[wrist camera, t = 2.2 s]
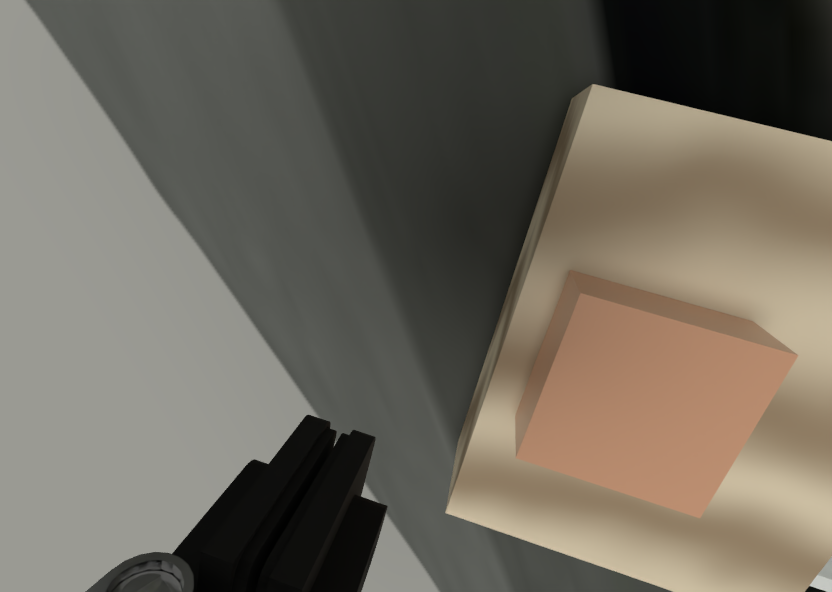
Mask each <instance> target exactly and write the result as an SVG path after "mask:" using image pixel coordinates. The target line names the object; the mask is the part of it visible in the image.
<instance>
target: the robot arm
mask: <svg viewBox="0 0 832 592" xmlns="http://www.w3.org/2000/svg"><path fill="white" fill-rule="evenodd" d="M335 438H336V431H335V430H332V429H330V422H329V421H326V420H323V419H320V418H317V417H314V416H311V415H307V416H306V417H305V418H304V419H303V420H302V422H301V423H300V424H299V425H298V427H297V428H296V430H295V431H294V432H293V433H292V435H291V436H290V437H289V439H288V440H287V441H286V442H285V444H284V445H283V446H282V448H281V449H280V450H279V451H278V453H277V454H276V455H275V457H274V458H273V459H272V461H271V462H270V463H269V464H266V463H263V462H260V461H257V460H252V461H251V462H249V463H248V465H246V466H245V468H244V469H243V470H242V471H241V473H240V474H239V475H238V476H237V477H236V478H235V480H234V481H233V482H232V483H231V484H230V486H229V487H228V488H227V489H226V490H225V491H224V493H223V494H222V495H221V496H220V497H219V499H218V500H217V501H216V502H215V503H214V505H213V506H212V507H211V508H210V509H209V511H208V512H207V513H206V514H205V515H204V516H203V518H202V519H201V520H200V521H199V522H198V524H197V525H196V526H195V527H194V528H193V530H192V531H191V532H190V533H189V535H188V536H187V537H186V538H185V539H184V540H183V542H182V543H181V544H180V545H179V546H178V547H177V549H176V550H175V551H174V552H173V553H172V554H170V553H161V552H153V553H147V554H141V555H138V556H136V557H133V558H131V559H128V560H126V561H124V562H122V563H121V564H119V565H118V566H117V567H115V568H114V569H112V570H111V571H110V572H108V573H107V574H106V575H105V576H104V577H103V578H101V579H100V580H99V581H98V582H97V583H95V584H94V585H93V586H92V587H91V588H89V589H88V590H87V591H86V592H361V590H362V588H363V584H364V582H365V579H366V576H367V573H368V570H369V567H370V564H371V561H372V558H373V554H374V551H375V548H376V545H377V542H378V538H379V535H380V531H381V528H382V524H383V521H384V517H385V514H386V510H387V506H386V505H383V504H380V503H377V502H374V501H372V500H369V499H366V498H363V497H361V494H362V490H363V486H364V482H365V478H366V474H367V471H368V467H369V463H370V459H371V455H372V451H373V447H374V443H375V437H374V436H371V435H368V434H365V433H362V432H359V431H356V430H353V431H352V432H351V434H350V435H347V434H344V433H342V434H341V436H340V437H339V439H338V441H337V442H336V444H335V446H334V443H335Z"/></svg>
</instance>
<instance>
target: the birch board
mask: <svg viewBox="0 0 832 592" xmlns="http://www.w3.org/2000/svg"><path fill="white" fill-rule="evenodd" d="M570 270H573V271H577V272H580V273H584V274H587V275H591V276H594V277H598V278H601V279H605V280H608V281H612V282H616V283H619V284H623V285H626V286H630V287H633V288H637V289H640V290H644V291H647V292H651V293H655V294H658V295H662V296H665V297H669V298H672V299H676V300H679V301H683V302H686V303H690V304H694V305H697V306H701V307H704V308H708V309H711V310H715V311H718V312H722V313H725V314H729V315H733V316H736V317H740V318H743V319H747V320H750V321H753V322H755V323H756V324H757V325H759V326H760V327H761V328H763V329H764V330H765V331H767V332H768V333H769V334H771V335H772V336H773V337H775V338H776V339H777V340H779V341H780V342H781V343H783V344H784V345H785V346H787V347H788V348H789V349H791V350H792V351H793V352H795V353H796V354H797V355H798V357H797V359H796V360H795V362H794V364H793V365H792V367H791V369H790V370H789V372H788V374H787V375H786V377H785V379H784V380H783V382H782V384H781V385H780V387H779V389H778V390H777V392H776V394H775V395H774V397H773V399H772V400H771V402H770V404H769V405H768V407H767V408H766V410H765V412H764V413H763V415H762V417H761V418H760V420H759V422H758V423H757V425H756V427H755V428H754V430H753V432H752V433H751V435H750V437H749V438H748V440H747V442H746V443H745V445H744V447H743V448H742V450H741V452H740V453H739V455H738V456H737V458H736V460H735V461H734V463H733V465H732V466H731V468H730V470H729V471H728V473H727V475H726V476H725V478H724V480H723V481H722V483H721V485H720V486H719V488H718V490H717V491H716V493H715V495H714V496H713V498H712V500H711V501H710V503H709V504H708V506H707V508H706V509H705V511H704V513H703V514H702V516H701V518H697V517H694V516H691V515H688V514H685V513H682V512H679V511H676V510H673V509H670V508H667V507H664V506H660V505H657V504H654V503H651V502H648V501H645V500H642V499H639V498H636V497H633V496H630V495H627V494H624V493H621V492H618V491H615V490H612V489H608V488H605V487H602V486H599V485H596V484H593V483H590V482H587V481H584V480H581V479H578V478H575V477H572V476H569V475H566V474H563V473H560V472H557V471H553V470H550V469H547V468H544V467H541V466H538V465H535V464H532V463H529V462H526V461H523V460H520V459H517V458H516V443H515V414H516V412H517V409H518V406H519V404H520V401H521V399H522V396H523V393H524V391H525V388H526V385H527V383H528V380H529V377H530V375H531V372H532V369H533V367H534V364H535V361H536V359H537V356H538V353H539V351H540V348H541V345H542V343H543V340H544V337H545V335H546V332H547V329H548V327H549V324H550V321H551V319H552V316H553V314H554V311H555V308H556V306H557V303H558V300H559V298H560V295H561V292H562V290H563V287H564V284H565V282H566V279H567V276H568V274H569V271H570ZM446 513H447V514H450V515H453V516H456V517H459V518H462V519H465V520H468V521H471V522H474V523H476V524H479V525H482V526H485V527H488V528H491V529H494V530H497V531H500V532H503V533H505V534H508V535H511V536H514V537H517V538H520V539H523V540H526V541H529V542H532V543H534V544H537V545H540V546H543V547H546V548H549V549H552V550H555V551H558V552H561V553H563V554H566V555H569V556H572V557H575V558H578V559H581V560H584V561H587V562H590V563H593V564H595V565H598V566H601V567H604V568H607V569H610V570H613V571H616V572H619V573H622V574H624V575H627V576H630V577H633V578H636V579H639V580H642V581H645V582H648V583H651V584H653V585H656V586H659V587H662V588H665V589H668V590H671V591H674V592H805V591H806V589H807V588H808V587H809V585H810V584H811V583H812V581H813V580H814V579H815V578H816V576H817V575H818V574H819V572H820V571H821V570H822V568H823V567H824V566H825V565H826V563H827V562H828V561H829V559H830V558H831V557H832V141H828V140H824V139H820V138H816V137H811V136H807V135H803V134H799V133H795V132H791V131H786V130H782V129H778V128H774V127H770V126H766V125H761V124H757V123H753V122H749V121H745V120H741V119H736V118H732V117H728V116H724V115H720V114H716V113H712V112H707V111H703V110H699V109H695V108H691V107H687V106H682V105H678V104H674V103H670V102H666V101H662V100H657V99H653V98H649V97H645V96H641V95H637V94H632V93H628V92H624V91H620V90H616V89H612V88H607V87H603V86H599V85H595V84H592V85H591V86H589V87H588V88H586V89H585V90H583V91H582V92H580V93H579V94H578V95H576V96H575V97H573V98H572V100H571V103H570V106H569V109H568V112H567V115H566V118H565V121H564V124H563V127H562V130H561V133H560V136H559V139H558V142H557V145H556V148H555V151H554V154H553V157H552V160H551V163H550V166H549V169H548V172H547V175H546V178H545V181H544V184H543V187H542V190H541V193H540V196H539V199H538V202H537V205H536V208H535V211H534V214H533V217H532V220H531V223H530V226H529V229H528V232H527V235H526V238H525V241H524V244H523V247H522V250H521V253H520V256H519V259H518V262H517V265H516V268H515V271H514V274H513V277H512V280H511V283H510V286H509V289H508V292H507V295H506V298H505V301H504V304H503V307H502V311H501V314H500V317H499V320H498V323H497V326H496V329H495V332H494V335H493V338H492V341H491V344H490V347H489V350H488V353H487V356H486V359H485V362H484V365H483V368H482V371H481V374H480V377H479V380H478V383H477V386H476V389H475V392H474V395H473V398H472V401H471V404H470V407H469V410H468V413H467V416H466V419H465V422H464V425H463V428H462V431H461V434H460V437H459V440H458V445H457V451H456V457H455V462H454V468H453V474H452V479H451V485H450V490H449V496H448V502H447V507H446Z"/></svg>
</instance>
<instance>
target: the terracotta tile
mask: <svg viewBox="0 0 832 592" xmlns="http://www.w3.org/2000/svg"><path fill="white" fill-rule="evenodd" d="M797 357H798V355H797V354H796V353H795V352H793V351H792V350H791V349H789V348H788V347H787V346H785V345H784V344H783V343H781V342H780V341H779V340H777V339H776V338H775V337H773V336H772V335H771V334H769V333H768V332H767V331H765V330H764V329H763V328H761V327H760V326H759V325H757V324H756V323H755V322H753V321H750V320H747V319H743V318H740V317H736V316H733V315H729V314H725V313H722V312H718V311H715V310H711V309H708V308H704V307H701V306H697V305H694V304H690V303H686V302H683V301H679V300H676V299H672V298H669V297H665V296H662V295H658V294H655V293H651V292H647V291H644V290H640V289H637V288H633V287H630V286H626V285H623V284H619V283H616V282H612V281H608V280H605V279H601V278H598V277H594V276H591V275H587V274H584V273H580V272H577V271H573V270H570V271H569V274H568V276H567V279H566V282H565V284H564V287H563V290H562V292H561V295H560V298H559V300H558V303H557V306H556V308H555V311H554V314H553V316H552V319H551V321H550V324H549V327H548V329H547V332H546V335H545V337H544V340H543V343H542V345H541V348H540V351H539V353H538V356H537V359H536V361H535V364H534V367H533V369H532V372H531V375H530V377H529V380H528V383H527V385H526V388H525V391H524V393H523V396H522V399H521V401H520V404H519V406H518V409H517V412H516V414H515V443H516V458H517V459H520V460H523V461H526V462H529V463H532V464H535V465H538V466H541V467H544V468H547V469H550V470H553V471H557V472H560V473H563V474H566V475H569V476H572V477H575V478H578V479H581V480H584V481H587V482H590V483H593V484H596V485H599V486H602V487H605V488H608V489H612V490H615V491H618V492H621V493H624V494H627V495H630V496H633V497H636V498H639V499H642V500H645V501H648V502H651V503H654V504H657V505H660V506H664V507H667V508H670V509H673V510H676V511H679V512H682V513H685V514H688V515H691V516H694V517H697V518H701V516H702V514H703V513H704V511H705V509H706V508H707V506H708V504H709V503H710V501H711V500H712V498H713V496H714V495H715V493H716V491H717V490H718V488H719V486H720V485H721V483H722V481H723V480H724V478H725V476H726V475H727V473H728V471H729V470H730V468H731V466H732V465H733V463H734V461H735V460H736V458H737V456H738V455H739V453H740V452H741V450H742V448H743V447H744V445H745V443H746V442H747V440H748V438H749V437H750V435H751V433H752V432H753V430H754V428H755V427H756V425H757V423H758V422H759V420H760V418H761V417H762V415H763V413H764V412H765V410H766V408H767V407H768V405H769V404H770V402H771V400H772V399H773V397H774V395H775V394H776V392H777V390H778V389H779V387H780V385H781V384H782V382H783V380H784V379H785V377H786V375H787V374H788V372H789V370H790V369H791V367H792V365H793V364H794V362H795V360H796V359H797Z"/></svg>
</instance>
